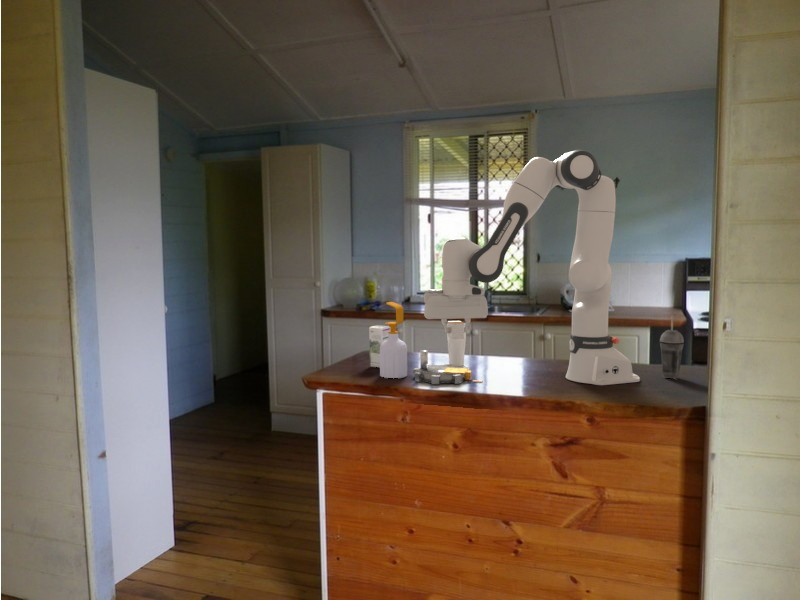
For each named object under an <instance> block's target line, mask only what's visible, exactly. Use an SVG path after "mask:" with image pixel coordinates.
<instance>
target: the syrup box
mask: <svg viewBox="0 0 800 600" xmlns="http://www.w3.org/2000/svg"><path fill="white" fill-rule="evenodd" d="M388 331H391V327H389V325H372V326H369V328H368V333H369V334H368V337H369V338H368V339H369V343H368V344H369V345H368V346H369V367H371V368H376V367H377V368H378V369H380V345H381V343H383V342H384V341H385V340H387V339H388ZM377 368H376V369H377Z"/></svg>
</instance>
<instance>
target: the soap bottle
mask: <svg viewBox="0 0 800 600" xmlns="http://www.w3.org/2000/svg"><path fill="white" fill-rule="evenodd" d="M385 305H388V306H390V307H392V308H394V309H395V321H388V322H385V323H384V325H385V326H389V327H390V331H388V339H387V340H385V341H384V342H383V343H381V345H380V368H379V377H381V378H383V377H384V379H388V378H393V379H394V378H398V379H402V378H405V377H407V376H408V346H407V344H406V342H404V341H403V340H401V339H400V338H399V331H398V330H396V328H397V327H398V325H399V324H403V323H404V307H403V306H402V305H401V304H399V303H396V302H394V301H388V302H387V301H386V303H385ZM393 379H392V380H393ZM394 380H395V379H394Z"/></svg>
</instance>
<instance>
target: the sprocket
mask: <svg viewBox="0 0 800 600" xmlns="http://www.w3.org/2000/svg"><path fill="white" fill-rule="evenodd" d="M419 352H420V353H419V354H420V358H419V359H420V361H419V363H420V365H419V366H420V367H415V368H413V369H412V378H414V381H416V382H419V383H420V382H423V383H431V385H440V384H454V385H458V384H462V382H464V381H471V380H472V374H473V373H472V370H469V369H470V368H469V367H468V366H464V365H463V366H460V367H459V366H452V364H449V363H447V364H446V363H445V364H434V365H432V364H429V357H428V356H429V354H428V353H429V351H428V350H425V349H423V350H421V349H420V351H419Z"/></svg>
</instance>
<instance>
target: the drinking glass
mask: <svg viewBox="0 0 800 600" xmlns="http://www.w3.org/2000/svg"><path fill="white" fill-rule="evenodd" d="M463 323H464V322H463ZM465 323H466V322H465ZM465 323H464V325H465ZM446 325H447V327H448V323H447V324H446ZM466 338H467V332H464V339H450V338H449V337H448V333H446V340H447V350H448V364H452V366H459V367H463V366H464V365H465V351H466V350H465V349H466V340H467V339H466Z"/></svg>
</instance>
